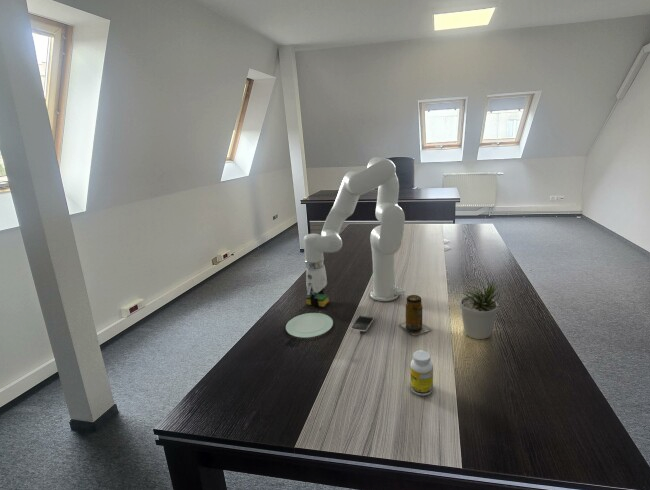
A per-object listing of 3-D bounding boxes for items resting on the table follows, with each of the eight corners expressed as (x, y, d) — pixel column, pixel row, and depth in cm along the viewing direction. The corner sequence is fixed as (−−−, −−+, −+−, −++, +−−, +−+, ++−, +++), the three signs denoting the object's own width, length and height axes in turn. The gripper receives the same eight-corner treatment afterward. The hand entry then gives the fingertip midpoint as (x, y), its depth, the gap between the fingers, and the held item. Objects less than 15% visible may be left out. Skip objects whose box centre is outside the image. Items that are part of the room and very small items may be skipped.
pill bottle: (408, 382, 105) (407, 349, 102) (429, 380, 105) (429, 347, 102) (413, 397, 99) (413, 363, 96) (435, 395, 99) (436, 360, 96)
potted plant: (480, 348, 119) (483, 293, 113) (451, 330, 130) (452, 278, 125) (507, 337, 124) (511, 284, 118) (476, 320, 136) (479, 271, 130)
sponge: (328, 304, 155) (328, 294, 154) (323, 309, 150) (322, 299, 149) (312, 301, 158) (311, 292, 157) (306, 307, 153) (306, 297, 152)
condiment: (416, 320, 138) (416, 291, 134) (430, 330, 131) (430, 300, 127) (400, 325, 135) (399, 296, 131) (413, 336, 128) (413, 305, 124)
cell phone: (349, 332, 133) (349, 328, 132) (360, 317, 142) (360, 314, 142) (365, 334, 130) (365, 331, 130) (375, 319, 140) (375, 316, 140)
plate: (340, 319, 142) (340, 316, 142) (319, 344, 126) (319, 341, 126) (301, 312, 149) (300, 310, 148) (276, 335, 133) (276, 332, 132)
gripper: (312, 272, 140) (316, 314, 145) (331, 257, 155) (334, 296, 160) (296, 270, 143) (300, 311, 148) (316, 256, 158) (319, 294, 163)
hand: (317, 303), depth 154 cm, fingers closed on sponge, 5 cm apart
